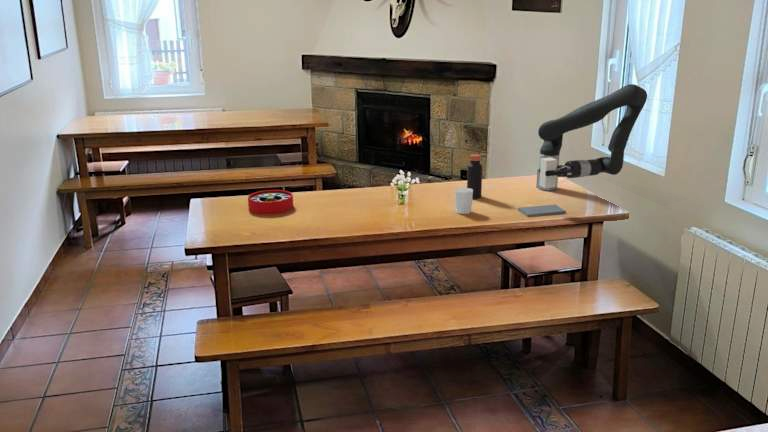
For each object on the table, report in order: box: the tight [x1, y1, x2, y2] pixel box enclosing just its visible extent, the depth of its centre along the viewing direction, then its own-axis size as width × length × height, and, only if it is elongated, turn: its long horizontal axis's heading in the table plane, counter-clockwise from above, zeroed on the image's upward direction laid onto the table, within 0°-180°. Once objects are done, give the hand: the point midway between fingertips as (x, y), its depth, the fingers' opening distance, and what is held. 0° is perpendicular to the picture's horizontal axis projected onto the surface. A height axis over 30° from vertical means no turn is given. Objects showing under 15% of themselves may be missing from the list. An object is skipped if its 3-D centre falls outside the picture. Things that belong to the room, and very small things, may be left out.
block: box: [539, 158, 557, 188], centre depth 297 cm, size 5×5×12 cm
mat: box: [517, 204, 567, 218], centre depth 302 cm, size 18×10×1 cm, turn 104°
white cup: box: [454, 187, 473, 215], centre depth 301 cm, size 8×8×10 cm
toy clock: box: [247, 189, 294, 215], centre depth 310 cm, size 20×6×20 cm
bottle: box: [466, 153, 483, 200], centre depth 321 cm, size 7×7×20 cm
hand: (542, 172), depth 296 cm, fingers closed on block, 5 cm apart
